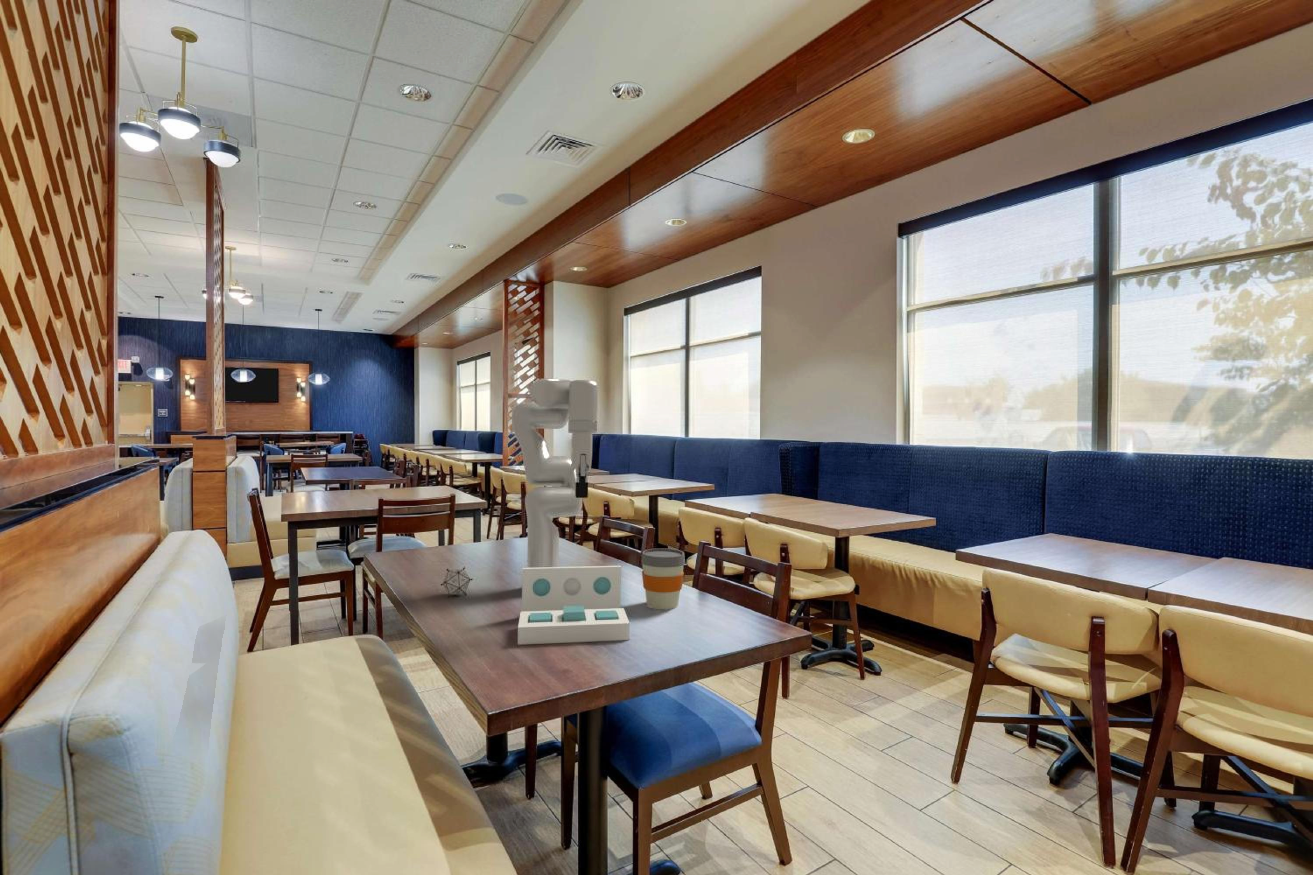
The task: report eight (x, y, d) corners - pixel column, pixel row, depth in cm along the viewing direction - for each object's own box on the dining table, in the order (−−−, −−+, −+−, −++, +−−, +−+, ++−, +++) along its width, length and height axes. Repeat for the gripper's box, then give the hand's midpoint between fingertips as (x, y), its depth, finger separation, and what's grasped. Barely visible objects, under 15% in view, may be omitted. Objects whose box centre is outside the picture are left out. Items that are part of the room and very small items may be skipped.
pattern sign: (522, 613, 163) (523, 565, 163) (618, 610, 167) (619, 563, 167) (521, 620, 157) (522, 571, 157) (621, 617, 162) (622, 568, 161)
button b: (563, 619, 150) (563, 606, 150) (583, 619, 151) (583, 605, 151) (563, 626, 146) (563, 612, 145) (584, 625, 146) (584, 611, 146)
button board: (520, 627, 152) (520, 611, 152) (623, 623, 157) (623, 608, 157) (517, 644, 140) (518, 627, 140) (629, 639, 145) (629, 623, 145)
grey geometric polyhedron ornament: (460, 609, 178) (465, 587, 173) (433, 598, 178) (437, 576, 173) (474, 587, 186) (479, 565, 180) (448, 577, 186) (452, 555, 180)
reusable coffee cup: (650, 613, 165) (651, 558, 165) (633, 600, 177) (634, 549, 177) (691, 608, 170) (692, 555, 170) (672, 596, 182) (673, 547, 182)
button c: (595, 624, 152) (595, 610, 152) (615, 623, 153) (615, 610, 153) (596, 631, 147) (597, 617, 147) (617, 630, 148) (617, 616, 148)
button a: (530, 626, 149) (530, 613, 149) (550, 626, 150) (550, 612, 150) (529, 633, 144) (529, 619, 144) (550, 632, 145) (550, 618, 145)
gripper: (567, 427, 165) (566, 494, 166) (569, 427, 151) (567, 501, 151) (595, 427, 167) (593, 494, 167) (599, 428, 152) (598, 501, 152)
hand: (581, 497), depth 159 cm, fingers closed
